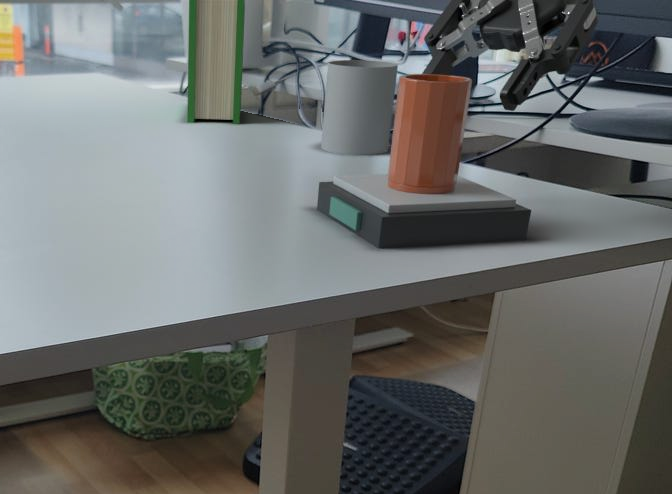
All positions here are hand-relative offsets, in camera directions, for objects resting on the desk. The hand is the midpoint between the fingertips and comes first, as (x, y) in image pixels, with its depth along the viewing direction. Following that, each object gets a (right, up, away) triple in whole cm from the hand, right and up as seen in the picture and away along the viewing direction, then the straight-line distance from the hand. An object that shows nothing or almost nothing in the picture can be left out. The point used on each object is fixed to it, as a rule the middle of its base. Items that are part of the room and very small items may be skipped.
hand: (463, 98), depth 84 cm
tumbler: (-3, -7, +1) cm, 8 cm away
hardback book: (-20, +22, +60) cm, 67 cm away
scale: (-3, -10, +3) cm, 11 cm away
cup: (-4, +9, +36) cm, 37 cm away
